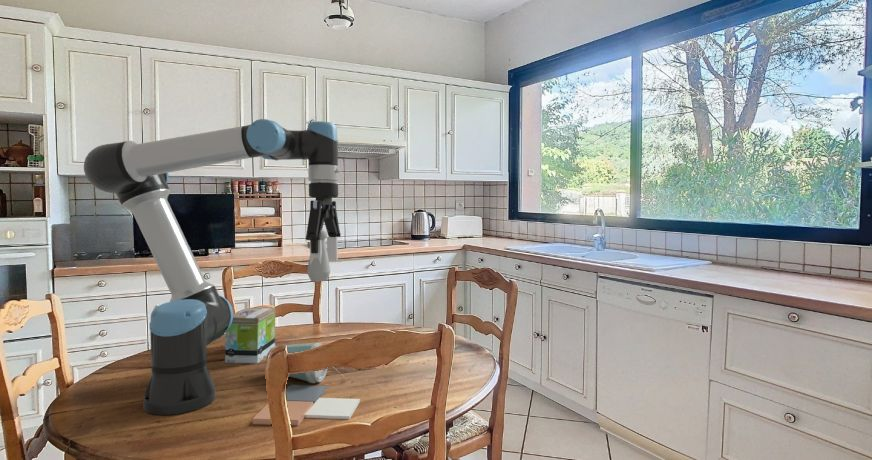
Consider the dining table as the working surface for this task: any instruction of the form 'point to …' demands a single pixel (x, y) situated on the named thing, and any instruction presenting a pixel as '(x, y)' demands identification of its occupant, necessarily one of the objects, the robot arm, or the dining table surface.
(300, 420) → the terracotta coaster
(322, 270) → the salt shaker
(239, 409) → the dining table surface
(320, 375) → the disposable coffee cup
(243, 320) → the tea box
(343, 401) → the white coaster
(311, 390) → the slate coaster
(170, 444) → the dining table surface
